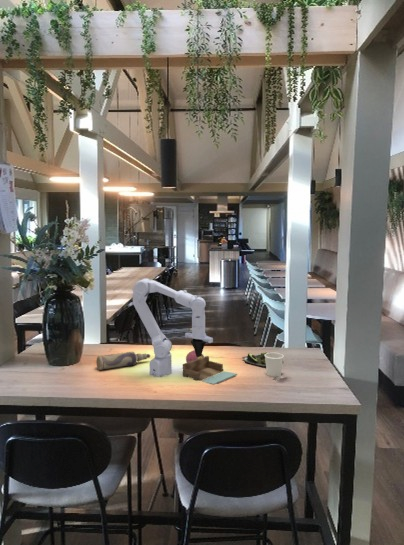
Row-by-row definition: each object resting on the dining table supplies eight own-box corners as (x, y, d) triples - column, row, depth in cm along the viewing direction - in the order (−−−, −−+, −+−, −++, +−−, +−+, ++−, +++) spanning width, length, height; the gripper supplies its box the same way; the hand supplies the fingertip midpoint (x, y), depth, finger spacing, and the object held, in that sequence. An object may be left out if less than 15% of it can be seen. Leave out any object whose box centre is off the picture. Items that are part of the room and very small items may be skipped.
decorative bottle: (100, 372, 198) (99, 358, 198) (96, 368, 205) (95, 354, 204) (153, 364, 210) (153, 350, 210) (147, 360, 217) (147, 346, 216)
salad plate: (262, 354, 226) (262, 345, 226) (291, 361, 213) (291, 352, 213) (237, 362, 213) (237, 352, 213) (266, 370, 200) (266, 360, 200)
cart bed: (198, 384, 182) (198, 369, 181) (181, 379, 189) (181, 364, 188) (225, 373, 195) (225, 359, 194) (208, 369, 202) (208, 355, 201)
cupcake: (203, 353, 208) (207, 347, 197) (202, 371, 205) (206, 366, 194) (185, 351, 207) (188, 345, 197) (184, 369, 204) (186, 364, 193)
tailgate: (200, 382, 182) (214, 385, 177) (200, 380, 182) (214, 384, 177) (224, 373, 194) (238, 375, 189) (224, 371, 194) (238, 374, 189)
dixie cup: (269, 381, 185) (269, 358, 184) (261, 375, 193) (261, 353, 192) (286, 379, 187) (287, 357, 186) (278, 373, 195) (278, 351, 194)
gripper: (217, 326, 187) (217, 357, 188) (192, 321, 196) (192, 351, 198) (206, 329, 182) (206, 361, 183) (181, 324, 191) (181, 354, 193)
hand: (198, 356), depth 190 cm, fingers closed
